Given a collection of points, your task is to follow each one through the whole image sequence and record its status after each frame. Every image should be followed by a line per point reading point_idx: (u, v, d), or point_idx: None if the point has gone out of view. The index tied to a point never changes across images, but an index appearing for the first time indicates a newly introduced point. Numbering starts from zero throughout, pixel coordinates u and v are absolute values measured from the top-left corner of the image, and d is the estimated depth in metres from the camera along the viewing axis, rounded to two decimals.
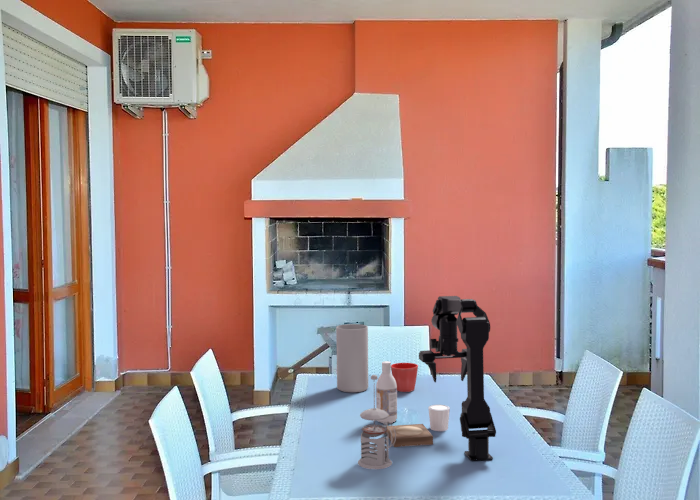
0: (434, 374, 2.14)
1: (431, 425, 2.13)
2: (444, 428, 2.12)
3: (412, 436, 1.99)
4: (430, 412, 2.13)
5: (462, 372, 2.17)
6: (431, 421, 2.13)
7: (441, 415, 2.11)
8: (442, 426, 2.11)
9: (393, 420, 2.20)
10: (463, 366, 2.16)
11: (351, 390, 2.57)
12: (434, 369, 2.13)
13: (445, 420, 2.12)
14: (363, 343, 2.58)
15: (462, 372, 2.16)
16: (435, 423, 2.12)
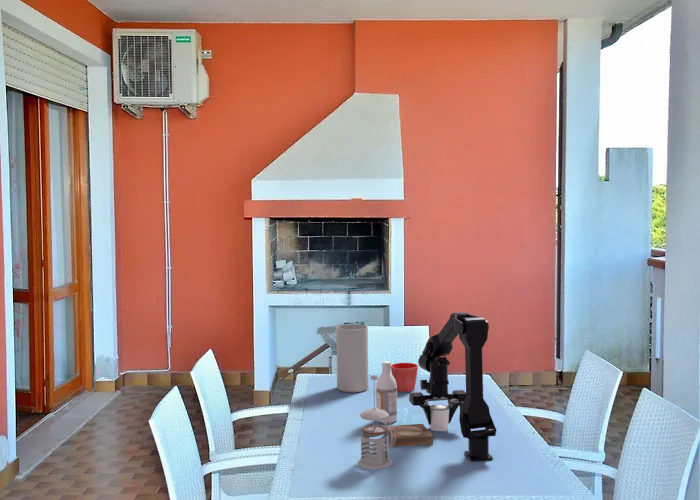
0: (428, 417, 2.12)
1: (431, 425, 2.13)
2: (444, 428, 2.12)
3: (412, 436, 1.99)
4: (430, 412, 2.13)
5: None
6: (431, 421, 2.13)
7: (441, 415, 2.11)
8: (442, 426, 2.11)
9: (393, 420, 2.20)
10: (450, 408, 2.14)
11: (351, 390, 2.57)
12: (428, 412, 2.11)
13: (445, 420, 2.12)
14: (363, 343, 2.58)
15: (449, 414, 2.14)
16: (435, 423, 2.12)
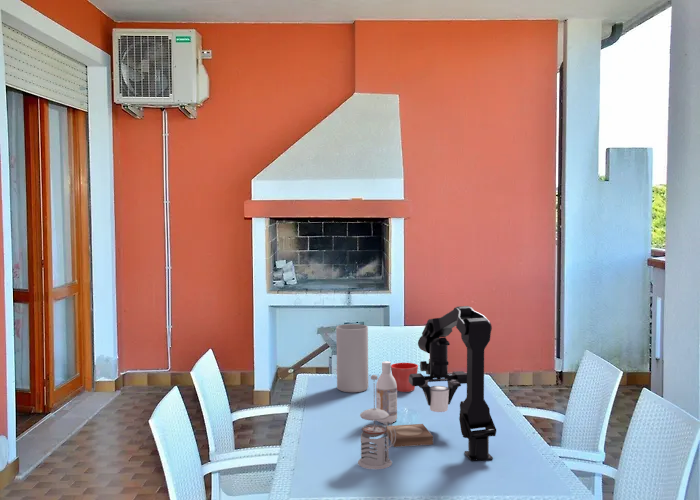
0: (428, 397, 2.12)
1: (431, 406, 2.13)
2: (444, 409, 2.12)
3: (412, 436, 1.99)
4: (430, 393, 2.12)
5: None
6: (431, 402, 2.13)
7: (441, 396, 2.11)
8: (442, 407, 2.11)
9: (393, 420, 2.20)
10: (449, 389, 2.14)
11: (351, 390, 2.57)
12: (428, 392, 2.11)
13: (445, 401, 2.11)
14: (363, 343, 2.58)
15: None
16: (434, 404, 2.11)
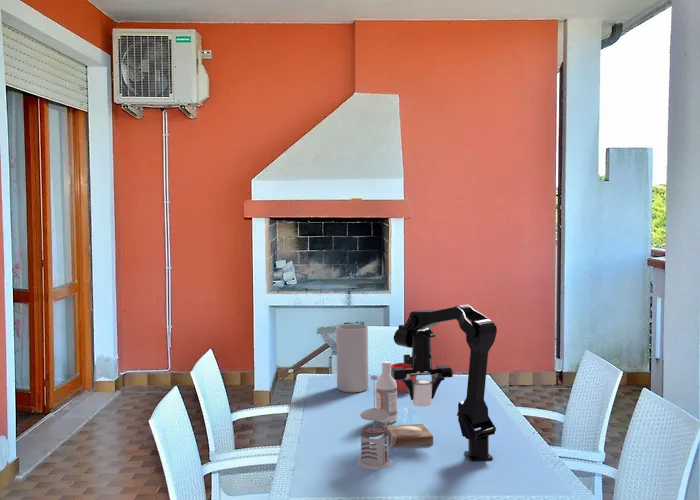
0: (410, 391, 2.06)
1: (413, 400, 2.07)
2: (427, 403, 2.06)
3: (412, 436, 1.99)
4: (412, 387, 2.07)
5: (432, 389, 2.08)
6: (413, 396, 2.07)
7: (424, 390, 2.05)
8: (424, 401, 2.05)
9: (393, 420, 2.20)
10: (433, 383, 2.08)
11: (351, 390, 2.57)
12: (410, 386, 2.05)
13: (428, 395, 2.05)
14: (363, 343, 2.58)
15: (432, 390, 2.08)
16: (417, 398, 2.06)
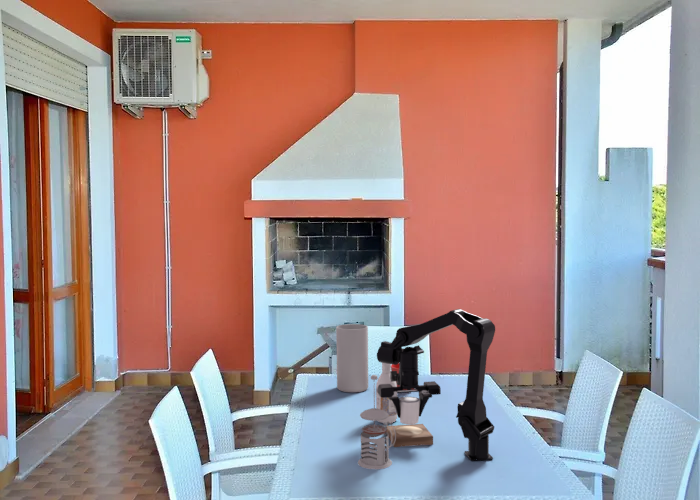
0: (398, 409, 2.02)
1: (401, 418, 2.03)
2: (414, 421, 2.02)
3: (412, 436, 1.99)
4: None
5: None
6: (400, 414, 2.03)
7: (411, 407, 2.01)
8: (412, 419, 2.01)
9: (393, 420, 2.20)
10: (420, 401, 2.04)
11: (351, 390, 2.57)
12: (397, 404, 2.01)
13: (415, 413, 2.02)
14: (363, 343, 2.58)
15: None
16: (404, 416, 2.02)
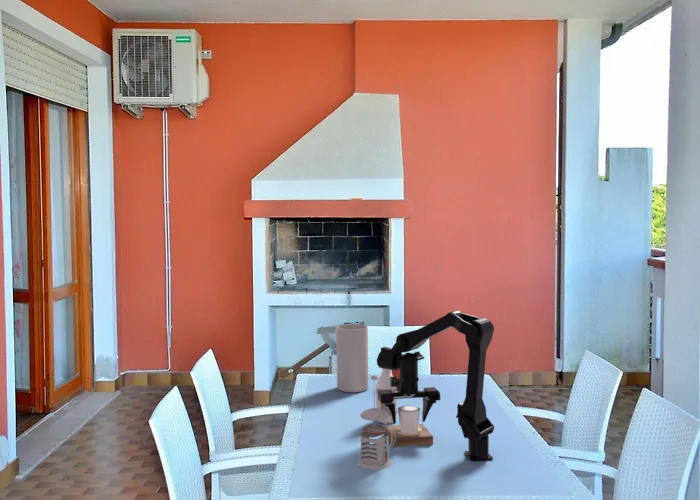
0: (393, 415, 2.02)
1: (401, 427, 2.03)
2: (414, 430, 2.02)
3: (412, 436, 1.99)
4: (399, 413, 2.03)
5: (423, 412, 2.05)
6: (400, 423, 2.03)
7: (411, 416, 2.01)
8: (412, 428, 2.02)
9: None
10: (424, 406, 2.04)
11: (351, 390, 2.57)
12: (393, 410, 2.01)
13: (415, 422, 2.02)
14: (363, 343, 2.58)
15: (423, 413, 2.04)
16: (404, 425, 2.02)
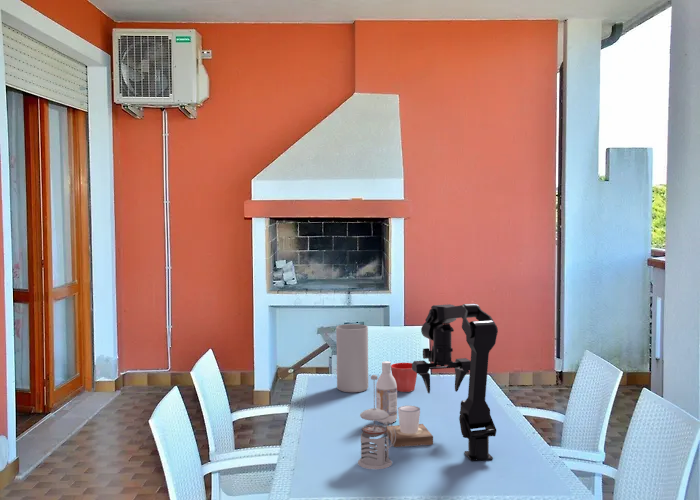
0: (428, 385, 2.08)
1: (401, 427, 2.03)
2: (414, 430, 2.02)
3: (412, 436, 1.99)
4: (399, 413, 2.03)
5: (456, 382, 2.12)
6: (400, 423, 2.03)
7: (411, 416, 2.01)
8: (412, 428, 2.02)
9: (393, 420, 2.20)
10: (457, 376, 2.11)
11: (351, 390, 2.57)
12: (428, 380, 2.07)
13: (415, 422, 2.02)
14: (363, 343, 2.58)
15: (456, 382, 2.11)
16: (404, 425, 2.02)
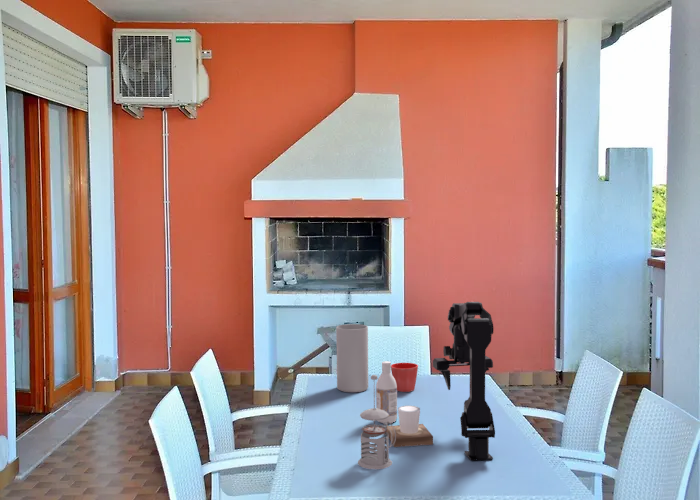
0: (448, 382, 2.12)
1: (401, 427, 2.03)
2: (414, 430, 2.02)
3: (412, 436, 1.99)
4: (399, 413, 2.03)
5: None
6: (400, 423, 2.03)
7: (411, 416, 2.01)
8: (412, 428, 2.02)
9: (393, 420, 2.20)
10: None
11: (351, 390, 2.57)
12: (448, 377, 2.11)
13: (415, 422, 2.02)
14: (363, 343, 2.58)
15: None
16: (404, 425, 2.02)
